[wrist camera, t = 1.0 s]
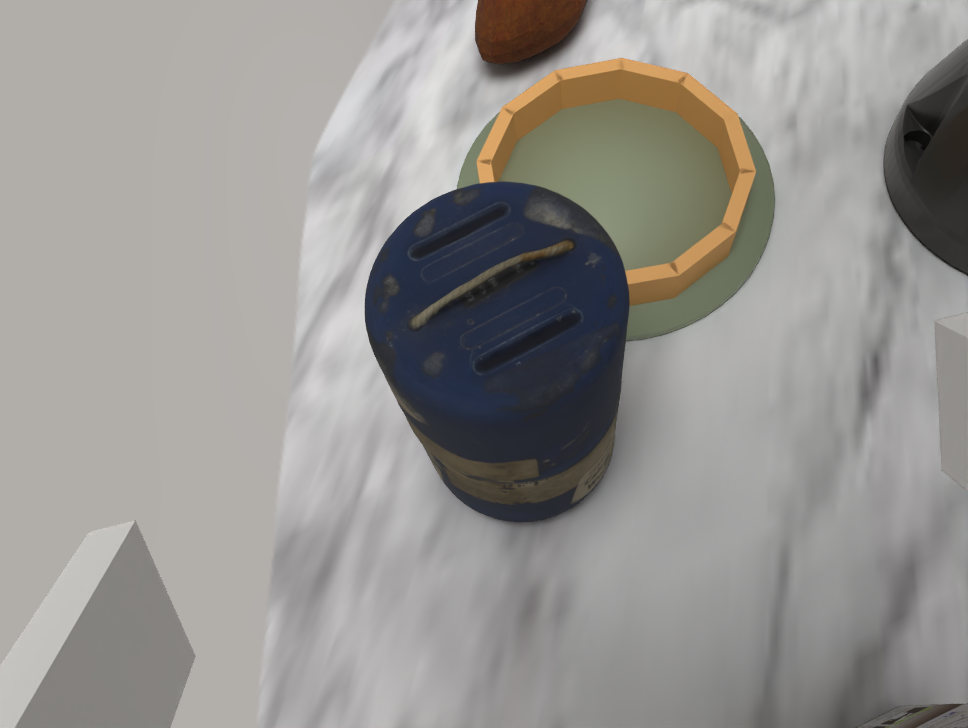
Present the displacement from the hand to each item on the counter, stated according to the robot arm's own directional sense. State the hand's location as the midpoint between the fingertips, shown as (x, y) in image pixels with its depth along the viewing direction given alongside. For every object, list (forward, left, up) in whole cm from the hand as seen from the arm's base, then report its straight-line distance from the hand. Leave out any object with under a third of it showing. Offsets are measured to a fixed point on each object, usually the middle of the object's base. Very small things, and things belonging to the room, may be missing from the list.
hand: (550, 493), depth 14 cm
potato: (-23, -31, -29) cm, 48 cm away
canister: (-5, -10, -29) cm, 31 cm away
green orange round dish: (-18, -18, -29) cm, 38 cm away
